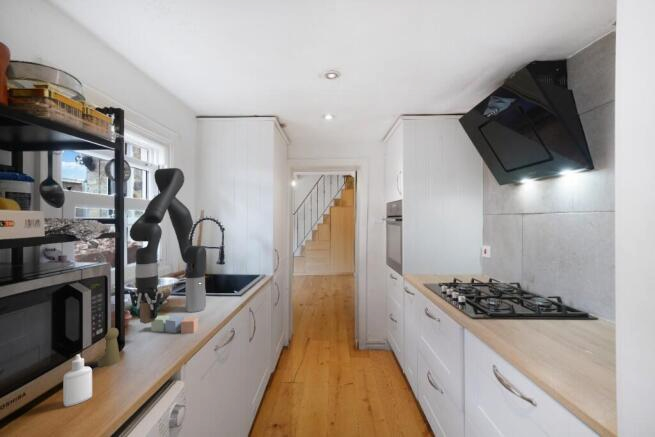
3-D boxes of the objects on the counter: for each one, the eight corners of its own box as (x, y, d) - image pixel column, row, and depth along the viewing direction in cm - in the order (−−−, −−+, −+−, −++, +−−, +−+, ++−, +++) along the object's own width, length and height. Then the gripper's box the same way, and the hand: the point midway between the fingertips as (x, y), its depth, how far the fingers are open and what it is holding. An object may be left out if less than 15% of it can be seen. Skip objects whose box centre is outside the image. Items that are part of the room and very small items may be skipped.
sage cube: (158, 327, 129) (158, 315, 129) (169, 327, 129) (169, 315, 129) (151, 331, 124) (151, 319, 124) (163, 331, 124) (163, 319, 124)
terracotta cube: (186, 329, 126) (185, 317, 126) (198, 328, 126) (197, 317, 126) (181, 333, 121) (181, 321, 121) (193, 333, 121) (193, 321, 121)
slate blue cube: (174, 327, 128) (174, 316, 128) (184, 328, 127) (184, 317, 127) (165, 331, 123) (165, 319, 123) (175, 333, 122) (175, 321, 122)
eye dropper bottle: (87, 403, 75) (87, 356, 75) (60, 408, 73) (60, 360, 73) (94, 394, 79) (94, 349, 79) (68, 398, 77) (68, 352, 77)
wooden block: (139, 322, 113) (139, 301, 113) (150, 319, 117) (149, 299, 117) (145, 324, 111) (144, 303, 111) (155, 321, 115) (155, 300, 115)
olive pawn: (124, 359, 99) (124, 326, 99) (105, 368, 93) (105, 333, 93) (111, 356, 101) (111, 324, 101) (92, 365, 95) (92, 331, 95)
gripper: (170, 273, 116) (170, 315, 116) (138, 272, 119) (139, 314, 119) (155, 277, 109) (156, 322, 109) (122, 276, 111) (123, 320, 112)
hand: (147, 318), depth 114 cm, fingers closed on wooden block, 5 cm apart
